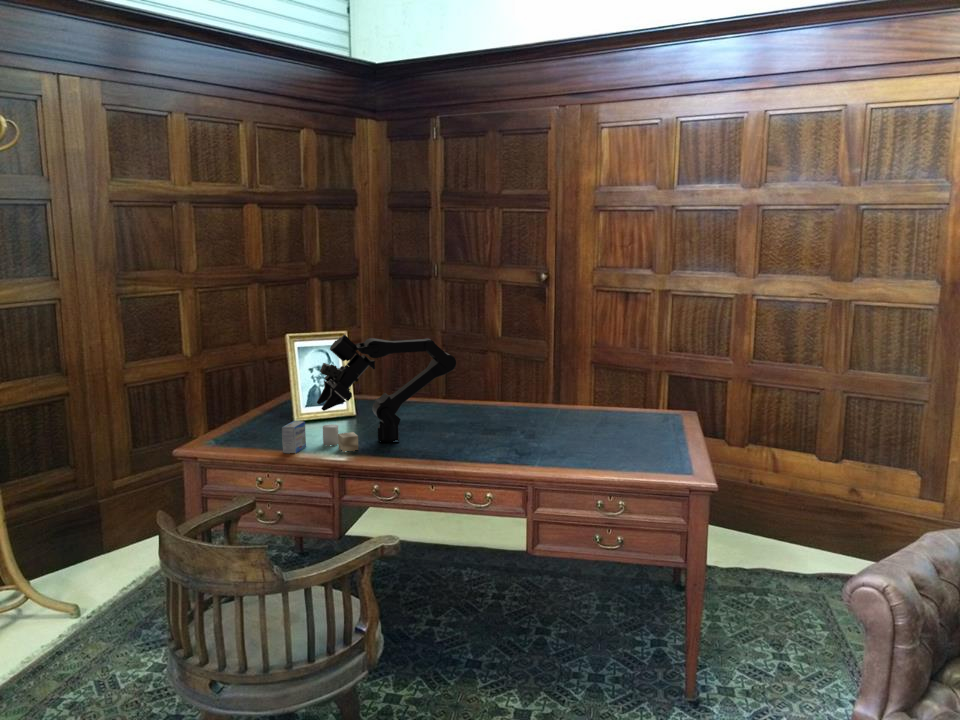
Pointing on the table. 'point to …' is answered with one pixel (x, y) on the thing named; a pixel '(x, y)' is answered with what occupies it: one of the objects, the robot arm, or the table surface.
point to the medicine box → (294, 437)
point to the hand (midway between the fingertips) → (320, 406)
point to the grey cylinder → (330, 434)
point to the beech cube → (348, 441)
